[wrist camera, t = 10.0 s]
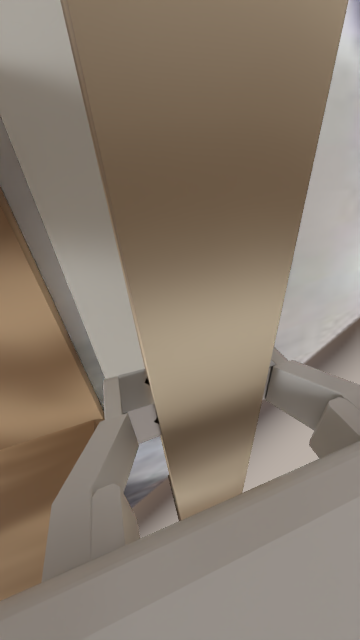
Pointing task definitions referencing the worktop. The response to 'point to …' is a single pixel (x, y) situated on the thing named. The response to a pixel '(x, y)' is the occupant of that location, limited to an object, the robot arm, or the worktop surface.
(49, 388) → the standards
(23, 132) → the mat
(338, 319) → the worktop surface
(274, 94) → the rail
